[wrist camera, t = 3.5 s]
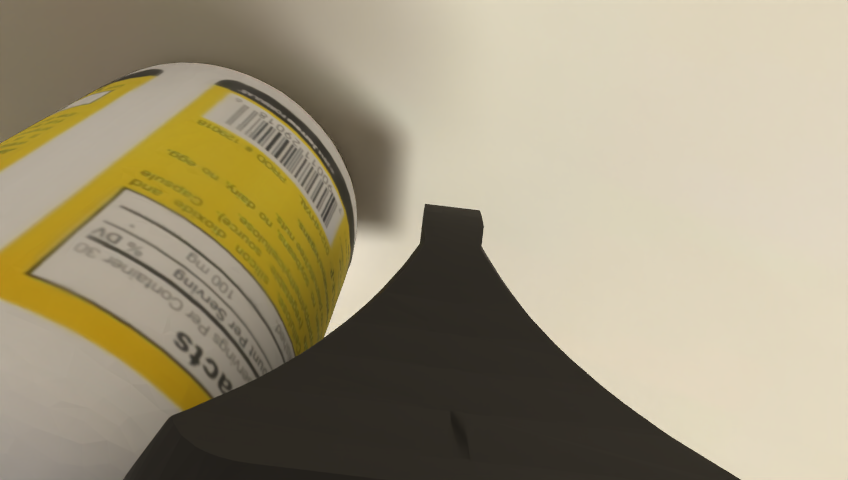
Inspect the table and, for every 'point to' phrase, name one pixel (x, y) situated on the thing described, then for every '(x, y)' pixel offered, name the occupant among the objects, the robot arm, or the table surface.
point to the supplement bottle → (158, 260)
